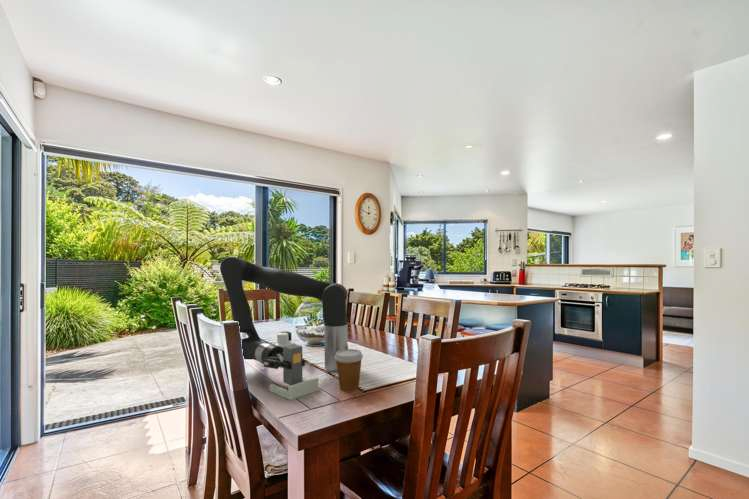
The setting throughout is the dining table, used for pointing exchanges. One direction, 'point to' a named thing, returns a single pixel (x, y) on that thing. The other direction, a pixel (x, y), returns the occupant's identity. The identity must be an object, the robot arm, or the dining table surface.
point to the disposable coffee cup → (348, 369)
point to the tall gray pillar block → (293, 364)
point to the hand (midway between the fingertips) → (297, 364)
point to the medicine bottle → (284, 339)
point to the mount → (297, 389)
